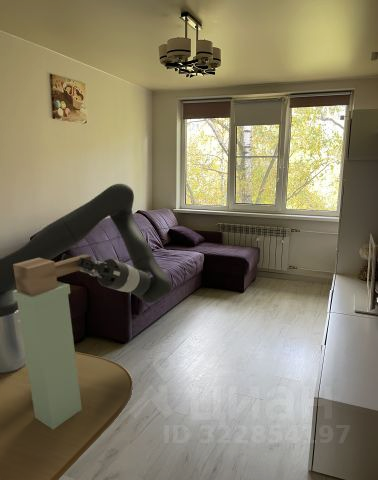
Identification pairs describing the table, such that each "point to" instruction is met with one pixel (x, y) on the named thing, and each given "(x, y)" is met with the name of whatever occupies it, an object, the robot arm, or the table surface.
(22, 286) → the mallet
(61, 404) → the stand
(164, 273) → the robot arm
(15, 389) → the table surface
